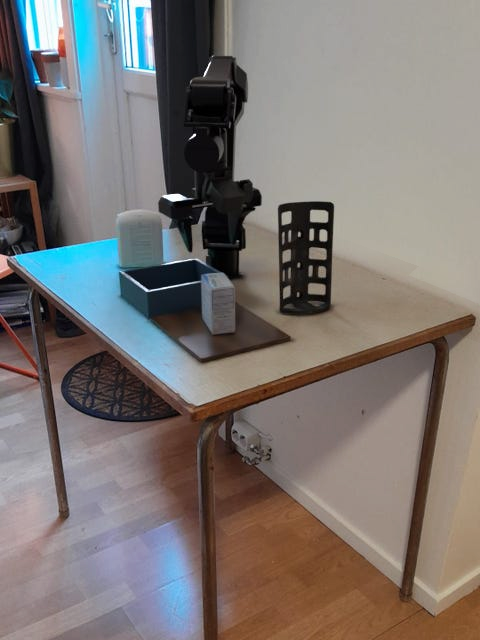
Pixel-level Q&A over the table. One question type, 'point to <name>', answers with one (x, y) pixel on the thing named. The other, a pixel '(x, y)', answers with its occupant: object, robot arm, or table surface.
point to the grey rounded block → (139, 238)
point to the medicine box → (218, 303)
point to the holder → (304, 256)
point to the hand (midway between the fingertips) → (211, 247)
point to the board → (205, 346)
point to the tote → (165, 287)
